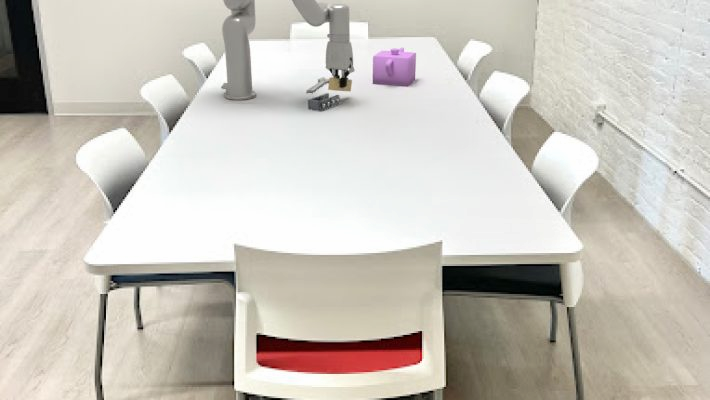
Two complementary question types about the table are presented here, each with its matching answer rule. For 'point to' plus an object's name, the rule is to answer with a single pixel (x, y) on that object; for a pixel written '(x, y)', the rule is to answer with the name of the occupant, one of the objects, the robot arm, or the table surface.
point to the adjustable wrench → (318, 85)
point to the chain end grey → (333, 100)
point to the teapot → (394, 67)
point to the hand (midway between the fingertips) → (340, 86)
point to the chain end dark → (318, 103)
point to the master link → (339, 84)
